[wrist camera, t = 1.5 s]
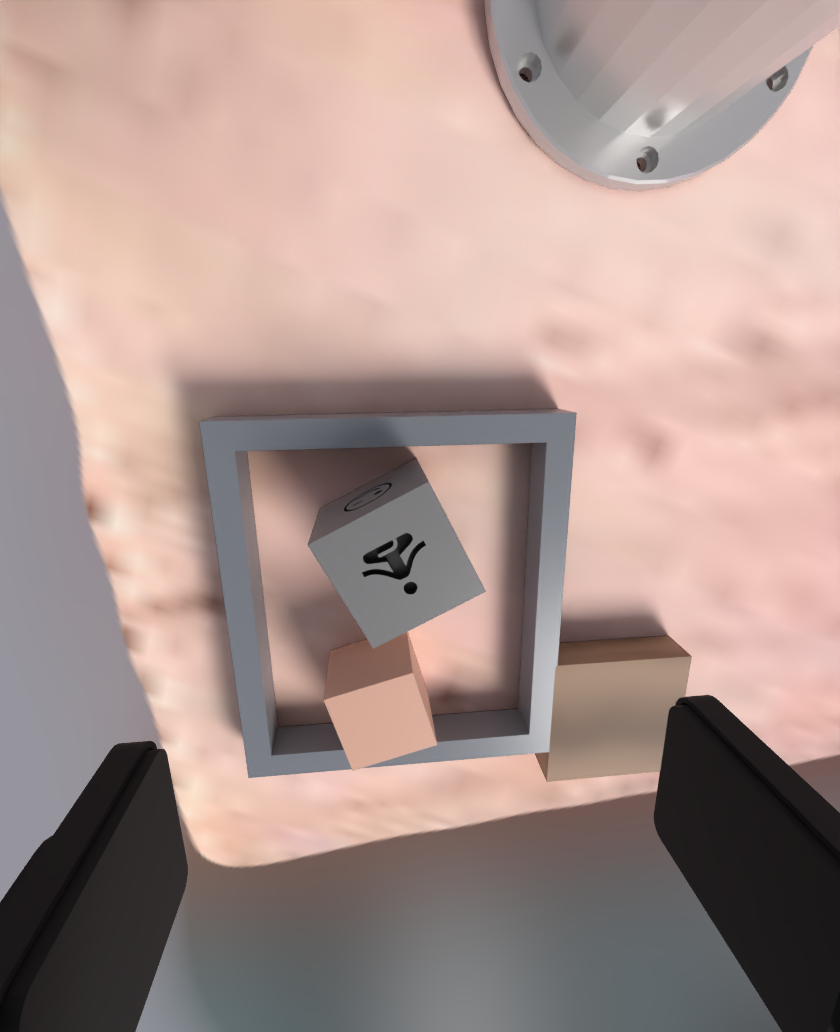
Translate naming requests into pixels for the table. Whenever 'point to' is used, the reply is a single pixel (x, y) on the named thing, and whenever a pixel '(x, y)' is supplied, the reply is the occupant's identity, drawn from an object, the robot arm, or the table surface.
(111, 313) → the table surface
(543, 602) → the gray rectangular frame
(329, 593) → the table surface
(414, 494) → the dice cube
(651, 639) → the tan block
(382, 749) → the terracotta block
